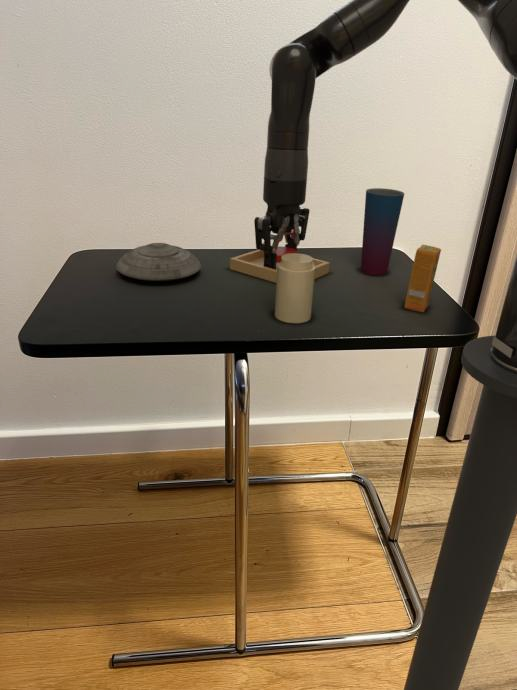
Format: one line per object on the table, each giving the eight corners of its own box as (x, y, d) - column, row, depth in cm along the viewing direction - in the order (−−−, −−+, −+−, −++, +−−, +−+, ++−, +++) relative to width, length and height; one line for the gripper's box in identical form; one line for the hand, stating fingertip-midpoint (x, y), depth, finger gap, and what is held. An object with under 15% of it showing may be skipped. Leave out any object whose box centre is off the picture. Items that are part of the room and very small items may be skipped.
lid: (258, 258, 100) (258, 251, 100) (277, 251, 105) (277, 244, 104) (284, 265, 97) (284, 257, 97) (302, 257, 101) (303, 250, 101)
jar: (316, 314, 84) (322, 256, 80) (301, 326, 79) (306, 266, 75) (284, 306, 86) (288, 250, 82) (268, 317, 82) (271, 259, 78)
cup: (353, 274, 102) (363, 192, 96) (358, 264, 108) (368, 186, 101) (389, 279, 100) (402, 196, 94) (393, 268, 106) (405, 190, 100)
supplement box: (425, 313, 86) (437, 252, 82) (403, 308, 87) (414, 248, 83) (429, 307, 89) (441, 247, 84) (409, 302, 90) (419, 243, 86)
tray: (328, 273, 102) (329, 262, 101) (293, 288, 94) (294, 276, 93) (267, 256, 110) (267, 246, 109) (229, 269, 102) (230, 258, 101)
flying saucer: (189, 258, 107) (188, 230, 104) (211, 283, 94) (211, 252, 92) (111, 263, 102) (108, 234, 99) (123, 291, 89) (121, 259, 87)
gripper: (291, 168, 101) (285, 255, 109) (242, 176, 91) (239, 272, 99) (325, 173, 97) (317, 264, 105) (278, 182, 87) (272, 282, 95)
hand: (279, 267), depth 102 cm, fingers closed on lid, 5 cm apart
